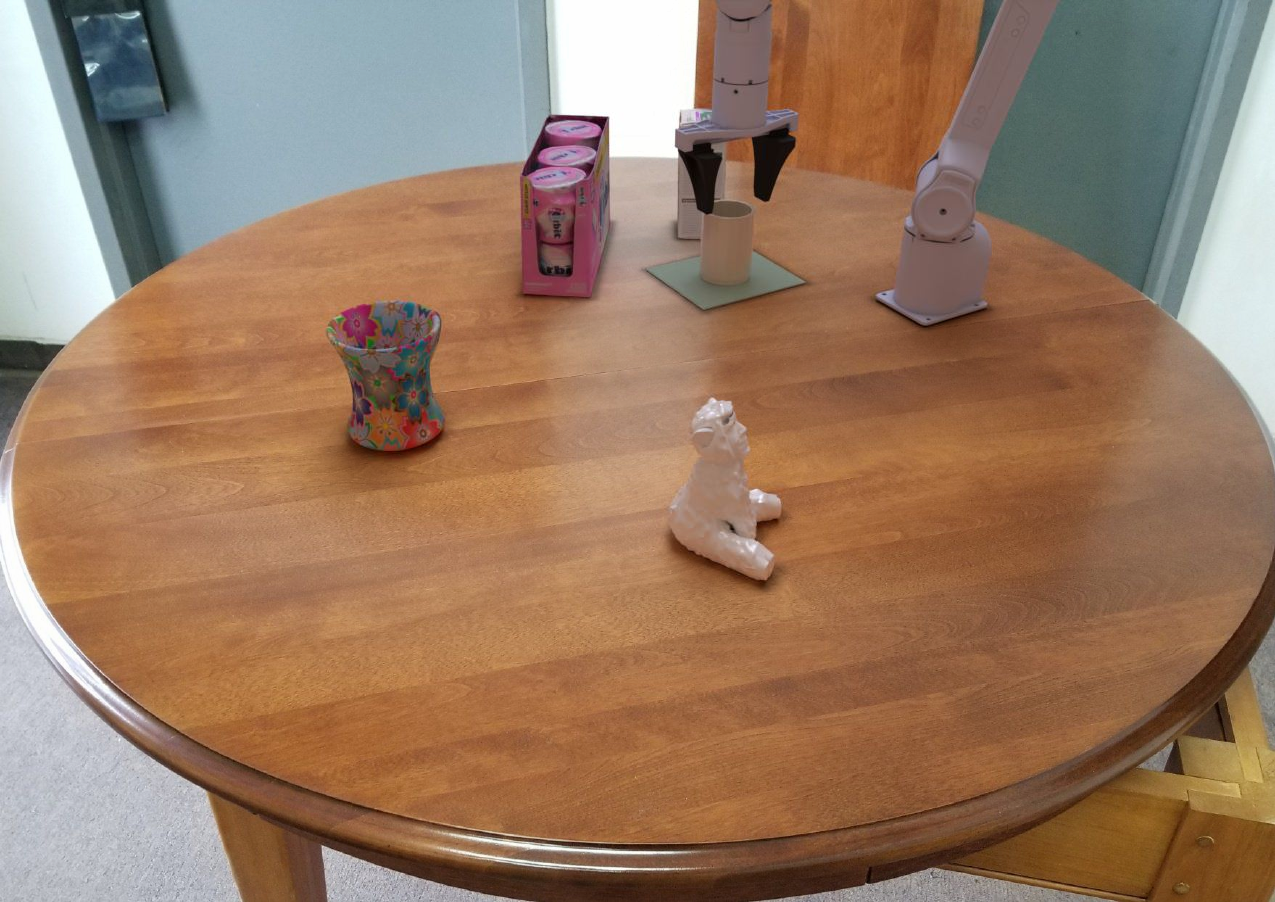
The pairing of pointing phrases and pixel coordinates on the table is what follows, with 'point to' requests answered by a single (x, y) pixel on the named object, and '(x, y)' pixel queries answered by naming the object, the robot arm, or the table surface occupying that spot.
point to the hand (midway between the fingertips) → (733, 205)
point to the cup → (727, 243)
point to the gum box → (565, 205)
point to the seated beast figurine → (722, 497)
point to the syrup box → (687, 209)
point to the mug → (389, 372)
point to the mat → (709, 295)
